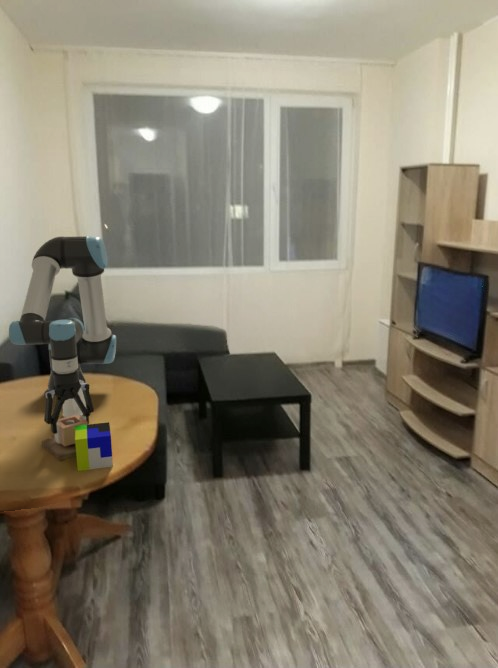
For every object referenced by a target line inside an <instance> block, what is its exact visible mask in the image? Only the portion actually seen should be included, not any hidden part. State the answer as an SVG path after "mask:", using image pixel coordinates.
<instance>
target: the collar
mask: <svg viewBox="0 0 498 668" xmlns="http://www.w3.org/2000/svg"><path fill="white" fill-rule="evenodd" d="M68 420H74V424H70V425H67V426H66V421H68ZM57 422H58V423H59V424H60V436H61V444H62V445H63V446H68V445H71V444H75V426H79V425H89V424H88V422H87V421H86V420H84V419H83V418H81V417H80V416H79V415H77V414H76V415H72V416H68V417H62V418H58V421H57ZM53 437H54V438H55V434H54V433H53Z"/></svg>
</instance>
